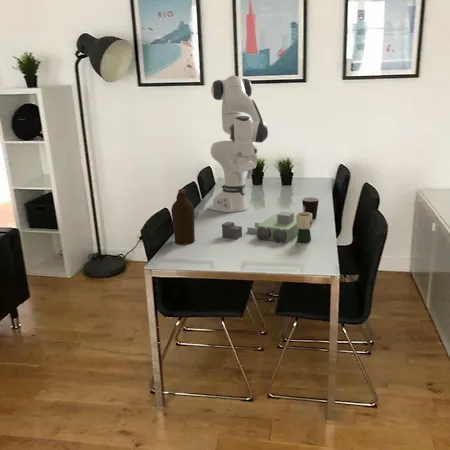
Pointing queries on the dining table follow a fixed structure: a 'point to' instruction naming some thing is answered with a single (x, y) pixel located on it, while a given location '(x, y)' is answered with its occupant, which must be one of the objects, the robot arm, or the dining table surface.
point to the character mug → (304, 226)
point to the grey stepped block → (231, 230)
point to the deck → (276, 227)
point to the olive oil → (183, 219)
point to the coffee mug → (310, 205)
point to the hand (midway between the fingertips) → (244, 180)
